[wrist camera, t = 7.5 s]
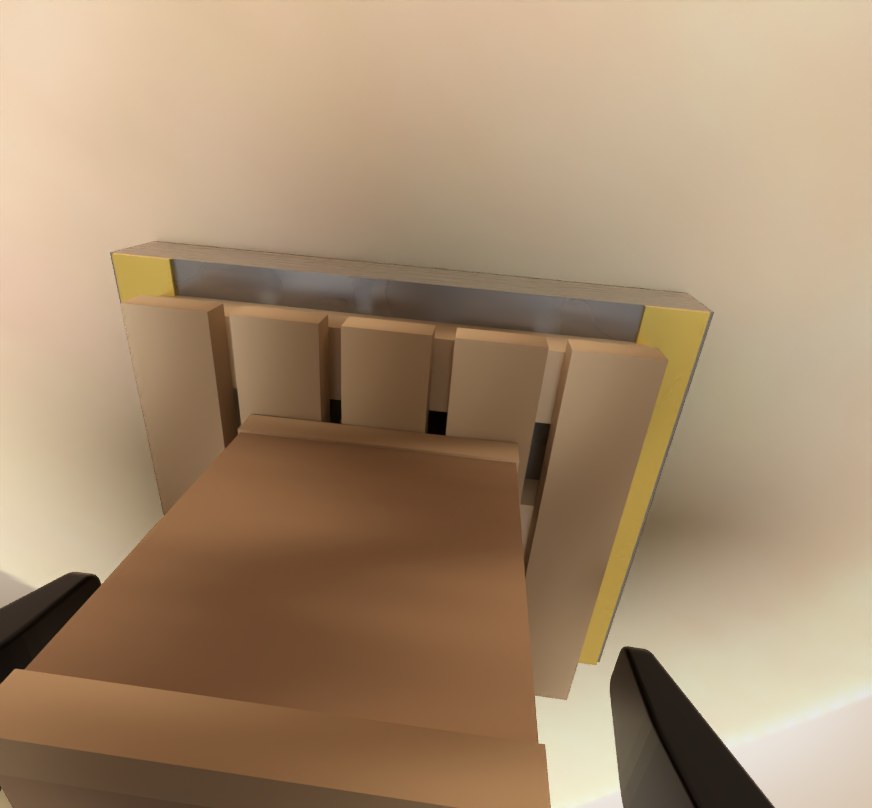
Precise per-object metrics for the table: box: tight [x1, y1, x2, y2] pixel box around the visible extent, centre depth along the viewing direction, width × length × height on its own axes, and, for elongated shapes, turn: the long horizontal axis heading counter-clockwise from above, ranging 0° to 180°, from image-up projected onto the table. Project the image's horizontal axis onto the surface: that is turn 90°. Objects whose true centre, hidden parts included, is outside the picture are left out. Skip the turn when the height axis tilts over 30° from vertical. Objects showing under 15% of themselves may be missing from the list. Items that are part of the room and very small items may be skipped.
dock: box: [110, 241, 714, 665], centre depth 13 cm, size 12×10×2 cm
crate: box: [0, 414, 551, 808], centre depth 8 cm, size 5×5×6 cm
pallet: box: [120, 295, 668, 700], centre depth 11 cm, size 10×9×2 cm
